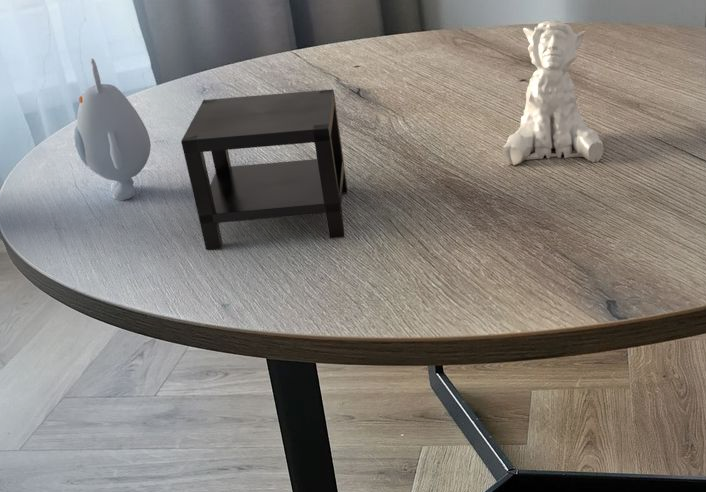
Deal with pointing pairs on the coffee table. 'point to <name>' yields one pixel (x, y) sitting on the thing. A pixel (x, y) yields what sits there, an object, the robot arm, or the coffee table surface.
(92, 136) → the toy figure
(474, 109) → the coffee table surface
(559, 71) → the seated beast figurine
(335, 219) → the miniature side table
